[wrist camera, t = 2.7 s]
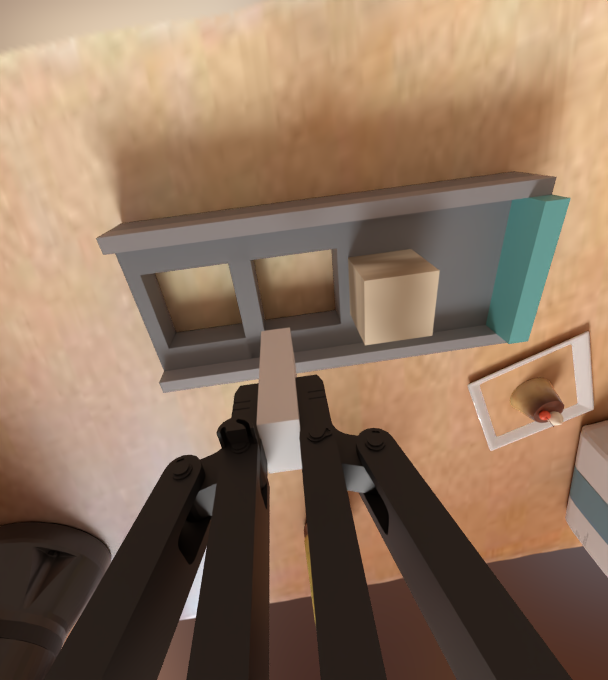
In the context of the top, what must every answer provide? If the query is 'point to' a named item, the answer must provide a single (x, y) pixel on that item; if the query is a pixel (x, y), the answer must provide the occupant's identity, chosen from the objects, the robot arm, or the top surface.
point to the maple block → (392, 296)
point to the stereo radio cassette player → (591, 493)
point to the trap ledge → (348, 241)
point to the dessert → (540, 395)
